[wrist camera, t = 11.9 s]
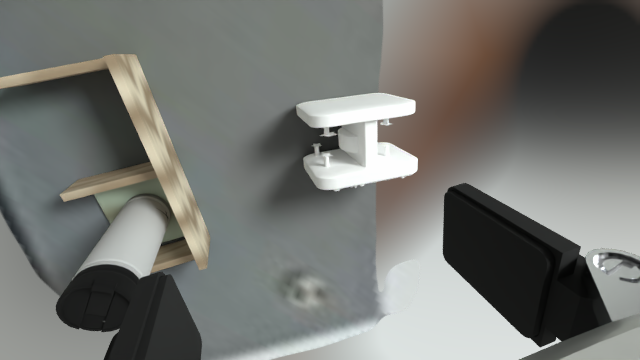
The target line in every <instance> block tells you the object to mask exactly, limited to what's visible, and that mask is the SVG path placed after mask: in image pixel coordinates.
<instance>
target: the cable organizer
mask: <svg viewBox="0 0 640 360" xmlns="http://www.w3.org/2000/svg"><path fill="white" fill-rule="evenodd" d="M296 110H297V115H298V116H299V117H300V118H301V119H302V120H303V121H304V122H306V123H307V124H308V125H309V126H310V127H314V128H324V132H323V133H324V134H323V135H320V136H328V137H329V136H333V135H337V134H335V133H334V132H330V133H329V127H335V126H341V125H342V128H340V129H339V130H338V140H339V147H340V148H341V149H336V150H330V151H324V152H319V146H322V145H320V143H318V144H314V143H313V144H314V145H312V146H314V148H315V153H313V154H309V155H307V156H305V157H304V158H303V161H304V169H305V170H306V172H307V173H308V175H309V176H310V178H311V179H312V181H313V182H314V184H315V185H316V187H317V188H319V189H323V190H334V191H340V189H343V188H348V187H353V186H354V187H355V188H356V186H357V185H360V186H364V184H368V183H372V182H375V183H376V181H381V180H389V179H392V178H397V177H401V178H405V176H408V175H412V174H413V173H415V172H416V171H417V164H418V159H417V158H416V157H414V156H413V155H411V154H409V153H407V152H405V151H403V150H402V149H400V148H398V147H396V146H394V145H392V144H390V143H385V142H384V143H383V142H379V143H377V120H381V119H383V122H381V123H382V124H381V125H387V126H388V125H389V124H390V123H389V118H394V117H401V116H406V115H410V114H413V113H414V112H415V101H414V100H411V99H406V98H402V97H398V96H394V95H390V94H386V93H371V94H363V95H355V96H348V97H340V98H332V99H325V100H317V101H309V102H304V103H300V104H298V105H296Z"/></svg>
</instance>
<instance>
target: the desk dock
mask: <svg viewBox="0 0 640 360" xmlns="http://www.w3.org/2000/svg"><path fill="white" fill-rule="evenodd" d="M103 57H104V58H101V59H96V60H91V61H85V62H80V63H75V64H70V65H64V66H59V67H54V68H48V69H43V70H38V71H32V72H27V73H22V74H17V75H11V76H6V77H1V78H0V89H3V88H10V87H17V86H24V85H29V84H34V83H40V82H45V81H50V80H55V79H60V78H65V77H70V76H75V75H81V74H86V73H91V72H96V71H101V70H106V69H109V70H110V73H111V75H112V77H113V79H114V82H115V84H116V86H117V88H118V90H119V93H120V95H121V97H122V99H123V101H124V104H125V106H126V108H127V110H128V113H129V115H130V117H131V119H132V121H133V124H134V126H135V128H136V130H137V132H138V135H139V137H140V139H141V141H142V144H143V146H144V148H145V150H146V152H147V155H148V157H149V159H150V161H151V162H147V163H143V164H139V165H135V166H131V167H127V168H123V169H119V170H115V171H111V172H107V173H103V174H99V175H95V176H91V177H87V178H83V179H79V180H77V181H76V182H75V183H73V184H72V185H71V186H70V187H69V188H67V189H66V190H65V191H64V192H62V193H61V194H60V196H61V198H62V199H63V201H64V202H65V201H69V200H73V199H77V198H81V197H85V196H88V195H92V194H94V196H95V197H96V199H97V201H98V203H99V204H100V206H101V208H102V210H103V212H104V213H105V215H106V217H107V219H108V220H109V222H110V224H111V223H112V222H113V221H114V219H115V218H116V216H117V215H118V214H119V212H120V211H121V209H122V208H123V207H124V205H125V204H126V202H127V201H128V200H129V199H130V198H132V197H134V196H136V195H139V194H154V195H157V196H159V197H161V198H163V199H164V200H165V201H166V202H167V203H168V205H169V207H170V209H171V218H170V221H169V223H168V226H167V229H166V232H165V234H164V237H163V240H162V243H163V242H167V241H170V240H173V239H177V238H180V237H185V239H184V240H181V241H177V242H174V243H170V244H167V245H164V246H160V248H159V251H158V253H157V256H156V259H155V262H154V264H153V267H152V270H151V272H150V273H153V272H156V271H159V270H163V269H166V268H169V267H172V266H175V265H179V264H182V263H185V262H188V261H192V260H195V261H196V263H197V265H198V268H199V270H202V269H205V268H207V263H208V254H209V245H210V235H209V233H208V230H207V228H206V225H205V223H204V221H203V218H202V216H201V213H200V211H199V208H198V206H197V203H196V201H195V199H194V196H193V194H192V191H191V189H190V186H189V184H188V181H187V179H186V176H185V174H184V172H183V169H182V167H181V164H180V162H179V159H178V157H177V154H176V152H175V149H174V147H173V145H172V142H171V140H170V137H169V135H168V132H167V130H166V127H165V125H164V123H163V120H162V118H161V115H160V113H159V110H158V108H157V105H156V103H155V100H154V98H153V96H152V93H151V91H150V88H149V86H148V83H147V81H146V78H145V76H144V74H143V71H142V69H141V66H140V64H139V61H138V59H137V56H136V55H131V54H112V55H107V56H103Z"/></svg>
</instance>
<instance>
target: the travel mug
mask: <svg viewBox="0 0 640 360" xmlns="http://www.w3.org/2000/svg"><path fill="white" fill-rule="evenodd" d="M170 218H171V209H170V207H169V205H168V203H167V202H166V201H165V200H164V199H163V198H161V197H159V196H157V195H154V194H139V195H136V196H134V197H132V198H130V199H129V200H128V201H127V202H126V204H125V205H124V207H123V208H122V209H121V211H120V212H119V214H118V215H117V216H116V218H115V219H114V221H113V222H112V223H111V225H110V226H109V228H108V229H107V230H106V232H105V233H104V235H103V236H102V238H101V239H100V240H99V242H98V243H97V245H96V246H95V247H94V249H93V250H92V252H91V253H90V254H89V256H88V257H87V259H86V260H85V262H84V263H83V264H82V266H81V267H80V269H79V270H78V271H77V273H76V275H75V276H74V277H73V278H72V280H71V282H70V284H69V285H68V287H67V288H66V289H65V291H64V292H63V294H62V295H61V297H60V298H59V299H58V302H57V304H56V312H57V315H58V316H59V318H60V319H61V320H62V321H63V322H64V323H65V324H67V325H68V326H70V327H73V328H76V329H79V328H81V329H84V330H89V331H101V330H102V332H108V331H113V330H117V329H119V328H120V327H121V324H122V322H123V319H124V317H125V314H126V312H127V309H128V306H129V304H130V301H131V299H132V296H133V294H134V291H135V289H136V286H137V283H138V281H139V279H140V278H141V277H145V276H148V275H150V272H151V270H152V267H153V264H154V262H155V259H156V256H157V253H158V251H159V248H160V245H161V243H162V240H163V237H164V234H165V232H166V229H167V226H168V223H169V221H170Z"/></svg>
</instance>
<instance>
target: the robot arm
mask: <svg viewBox="0 0 640 360" xmlns="http://www.w3.org/2000/svg"><path fill="white" fill-rule="evenodd" d="M580 248H581V247H580V246H579V245H577V244H575V243H573V242H572V241H570V240H568V239H566V238H564V237H563V236H561V235H559V234H557V233H555V232H553V231H552V230H550V229H548V228H546V227H545V226H543V225H541V224H539V223H537V222H536V221H534V220H532V219H530V218H528V217H527V216H525V215H523V214H521V213H519V212H518V211H516V210H514V209H512V208H510V207H509V206H507V205H505V204H503V203H501V202H500V201H498V200H496V199H494V198H492V197H491V196H489V195H487V194H485V193H483V192H482V191H480V190H478V189H476V188H474V187H473V186H471V185H469V184H466V183H463V184H460V185H456V186H453V187H450V188H449V189H448V191H447V193H445V196H444V228H443V255H444V258H445V260H446V261H447V263H448V264H450V265H451V266H452V267H453V268H454V269H455V270H456V271H457V272H458V273H459V274H460V275H461V276H462V277H463V278H464V279H465V280H466V281H467V282H468V283H469V284H470V285H471V286H472V287H473V288H474V289H475V290H476V291H477V292H478V293H479V294H480V295H482V296H483V297H484V298H485V299H486V300H487V301H488V302H489V303H490V304H491V305H492V306H493V307H494V308H495V309H496V310H497V311H498V312H499V313H500V314H501V315H502V316H503V317H504V318H505V319H506V320H507V321H508V322H509V323H510V324H511V325H513V326H514V327H515V328H516V329H517V330H518V331H519V332H520V333H521V334H522V335H523V336H525V337H527V338H531V339H532V340H533V341H534V342H535V343H536V344H537V345H538V346H539V347H542V346H545V345H547V344H549V343H552V342H554V341H555V340H556V337H557V338H558V339H559V340H561V341H562V342H560V343H558V344H555V345H553V346H550V347H548V348H546V349H543V350H541V351H538V352H536V353H534V354H531V355H529V356H527V357H524V358H522V359H519V360H640V257H639V256H637V255H635V254H631V253H628V252H625V251H621V250H615V249H595V250H592V251H590V252H588V254H587V255H586V257H585V258H584V257H583V256H581V255H579V252H580ZM201 349H202V341H201V336H200V333H199V331H198V329H197V327H196V325H195V323H194V321H193V319H192V317H191V315H190V313H189V311H188V308H187V306H186V304H185V302H184V300H183V298H182V296H181V294H180V292H179V290H178V288H177V286H176V283H175V281H174V279H173V277H172V276H171V275H165V274H164V273H163V272H158V273H155V274H151V275H148V276H145V277H141V278H140V279H139V281H138V283H137V286H136V289H135V291H134V294H133V296H132V299H131V301H130V304H129V306H128V309H127V312H126V314H125V317H124V319H123V322H122V324H121V327H120V330H119V332H118V333H117V334H116V335H115V336H114V337H113V339H112V341H111V343H110V345H109V348H108V350H107V353H106V355H105V358H104V360H201Z"/></svg>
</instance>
